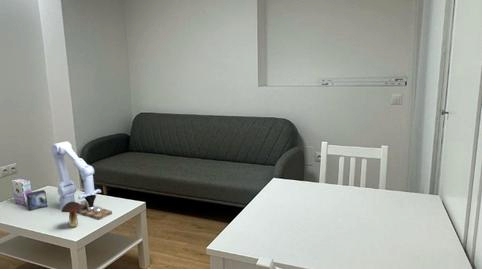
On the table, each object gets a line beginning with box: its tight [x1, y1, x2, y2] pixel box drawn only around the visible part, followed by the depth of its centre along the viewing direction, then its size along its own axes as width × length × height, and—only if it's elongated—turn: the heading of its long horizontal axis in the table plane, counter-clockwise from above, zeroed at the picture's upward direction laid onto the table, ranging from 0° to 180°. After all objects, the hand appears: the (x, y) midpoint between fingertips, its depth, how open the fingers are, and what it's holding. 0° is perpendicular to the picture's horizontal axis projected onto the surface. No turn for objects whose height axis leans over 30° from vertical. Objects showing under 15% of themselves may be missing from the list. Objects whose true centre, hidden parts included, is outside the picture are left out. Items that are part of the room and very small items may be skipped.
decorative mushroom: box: [61, 201, 83, 228], centre depth 200 cm, size 11×11×15 cm
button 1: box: [80, 199, 89, 208], centre depth 223 cm, size 4×4×4 cm
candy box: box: [11, 178, 33, 207], centre depth 241 cm, size 14×6×16 cm, turn 58°
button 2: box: [94, 206, 102, 213], centre depth 217 cm, size 4×4×4 cm
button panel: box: [75, 204, 113, 221], centre depth 221 cm, size 26×10×2 cm, turn 58°
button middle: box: [87, 204, 96, 211], centre depth 221 cm, size 4×4×4 cm
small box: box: [26, 189, 49, 211], centre depth 232 cm, size 11×6×10 cm, turn 131°
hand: (91, 206), depth 220 cm, fingers closed, pressing on button middle
